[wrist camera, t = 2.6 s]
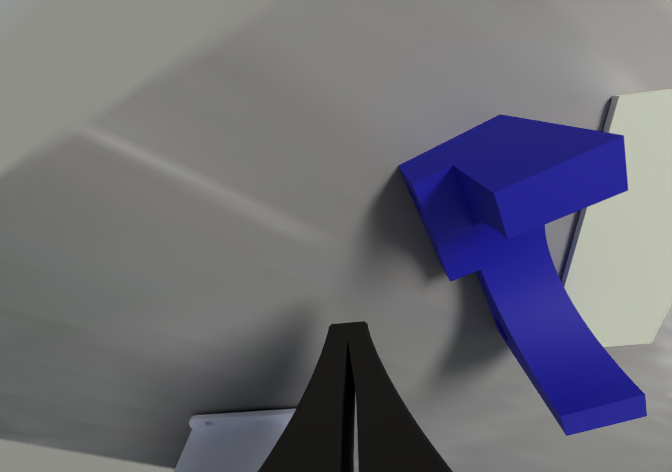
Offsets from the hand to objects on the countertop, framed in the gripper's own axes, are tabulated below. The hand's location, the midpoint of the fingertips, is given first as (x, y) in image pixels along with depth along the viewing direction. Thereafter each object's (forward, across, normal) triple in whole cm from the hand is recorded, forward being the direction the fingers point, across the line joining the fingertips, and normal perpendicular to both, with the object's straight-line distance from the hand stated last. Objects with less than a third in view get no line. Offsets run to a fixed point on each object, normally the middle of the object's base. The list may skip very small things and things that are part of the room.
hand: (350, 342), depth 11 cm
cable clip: (+5, -7, 0) cm, 9 cm away
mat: (+5, -14, 0) cm, 15 cm away
